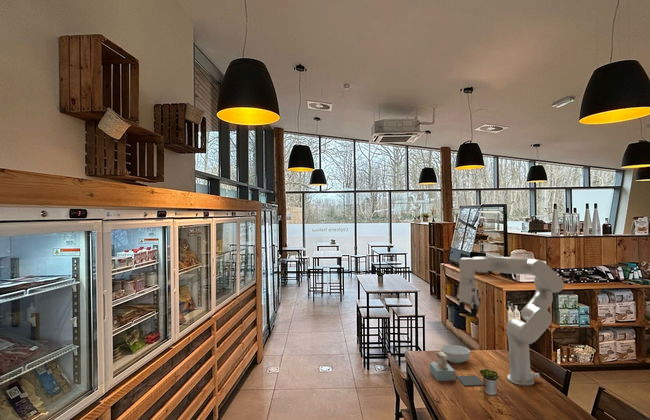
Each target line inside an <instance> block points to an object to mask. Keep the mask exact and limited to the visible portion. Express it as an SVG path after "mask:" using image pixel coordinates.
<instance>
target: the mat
mask: <svg viewBox="0 0 650 420" xmlns="http://www.w3.org/2000/svg"><path fill="white" fill-rule="evenodd" d="M455 379H456V380H458V382H459V383H461V385H463V387H480V386H483V382H484V381H483V380H481V378H479V376H477V375H476V374H475V375H455Z"/></svg>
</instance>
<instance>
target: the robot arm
mask: <svg viewBox="0 0 650 420" xmlns="http://www.w3.org/2000/svg"><path fill="white" fill-rule="evenodd" d="M458 263H459V286H458V293H457V294H456V298H457V302H458V312H461V313H462V312H465V311H466V304H469V305H470V307H471V308H470V316H471V317H477V316H478V307H479V304H480V300H479V299H478V289H477V284H476V278H475V277H476V272H479V273H487V272H498V273H501V274H510V275H531V276H534V278H533V282H534V287H535V292H534V295H533V296H532V298H530V300H529V301H528V302H527V303H526V305H525V306H524V307H523V308H522V309H521V312H520V316H521V318H522V319H523V320H525V321H526V322H525V321H523V320H521V319H518V318H512V319H510V320H508V321H507V323H506V324H505V325H506V327H505V330H506V331H505V332H506V337H507V341H508V353H509V354H508V362H509V373H508V374H507V375H506V380H507V381H508V382H510V383H512V384H515V385H518V386H526V387H527V386H532V385H534V384H535V379H534V378H540V377H541V375H540V373H539V372H534V371H531V361H530V360H531V359H530V344H533V343H535V342H536V341H537V340H538V339H539V338H540V337H541V336H542V335H543V334H544V332H546V330H547V329H548V328H549V327H550V325H551V323H552V315H551V313H550V312H549V310H548V309H549V308H550V306H552V304H553V301H554V300H553V293H556V294H557V293H559V292H561V291H563V290H564V287H565V282H564V280H563V279H562V277H561V276H560V275H559V274H557V273H556V271H554V270H553V269H552V268H551V267H550V266H549V265H548V264H547V263H545V262H544V261H542V260H540V259H534V258H528V257H527V258H525V257H524V258H523V257H506V256H505V257H499V256H496V257H494V256H472V257H460V258H459V261H458ZM465 303H466V304H465Z"/></svg>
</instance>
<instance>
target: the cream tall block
mask: <svg viewBox="0 0 650 420" xmlns="http://www.w3.org/2000/svg"><path fill="white" fill-rule="evenodd" d="M436 363H437V366H438V367H439V368H440V369H441V370H446V369H447V363H448V360H447V356H446V355H445V354H444V353H443V352H441V351H436Z"/></svg>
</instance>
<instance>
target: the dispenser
mask: <svg viewBox="0 0 650 420" xmlns="http://www.w3.org/2000/svg"><path fill="white" fill-rule="evenodd" d="M429 371H430V373H431V375H432V376H433V377H434V378H435V380H437V381H438V382H442V381H443V382H447V381H448V382H449V381H456V372H455V371H456V370H455V369H454V368H453V367H452V366H451V365H450V364H449V363H448V362H447V369H446V370H441V369H440V368H439V367H438V366H437V362H435V361H432V362H430V363H429Z"/></svg>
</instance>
